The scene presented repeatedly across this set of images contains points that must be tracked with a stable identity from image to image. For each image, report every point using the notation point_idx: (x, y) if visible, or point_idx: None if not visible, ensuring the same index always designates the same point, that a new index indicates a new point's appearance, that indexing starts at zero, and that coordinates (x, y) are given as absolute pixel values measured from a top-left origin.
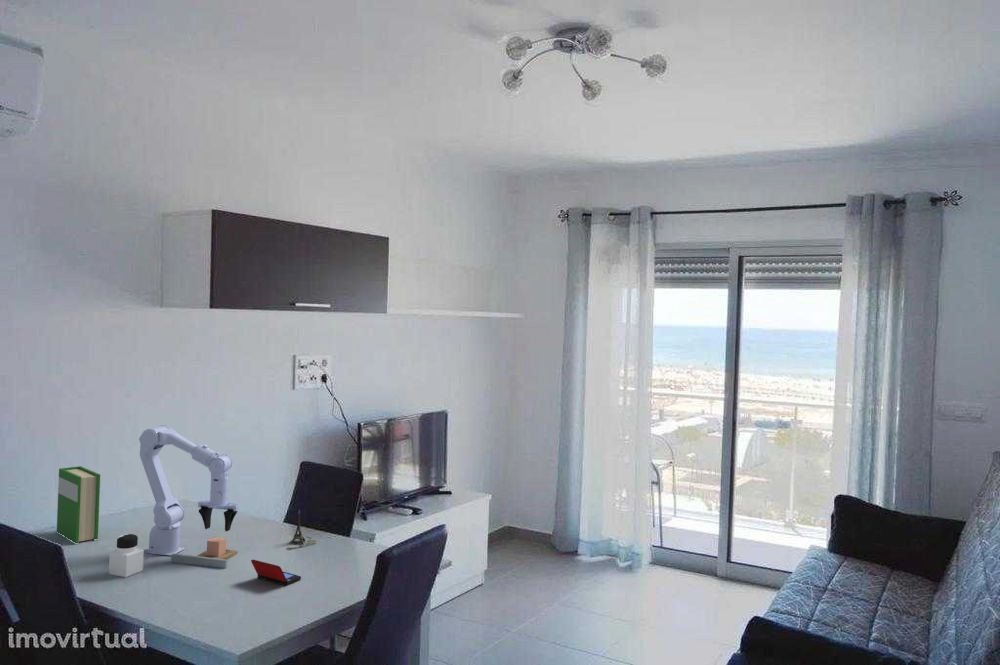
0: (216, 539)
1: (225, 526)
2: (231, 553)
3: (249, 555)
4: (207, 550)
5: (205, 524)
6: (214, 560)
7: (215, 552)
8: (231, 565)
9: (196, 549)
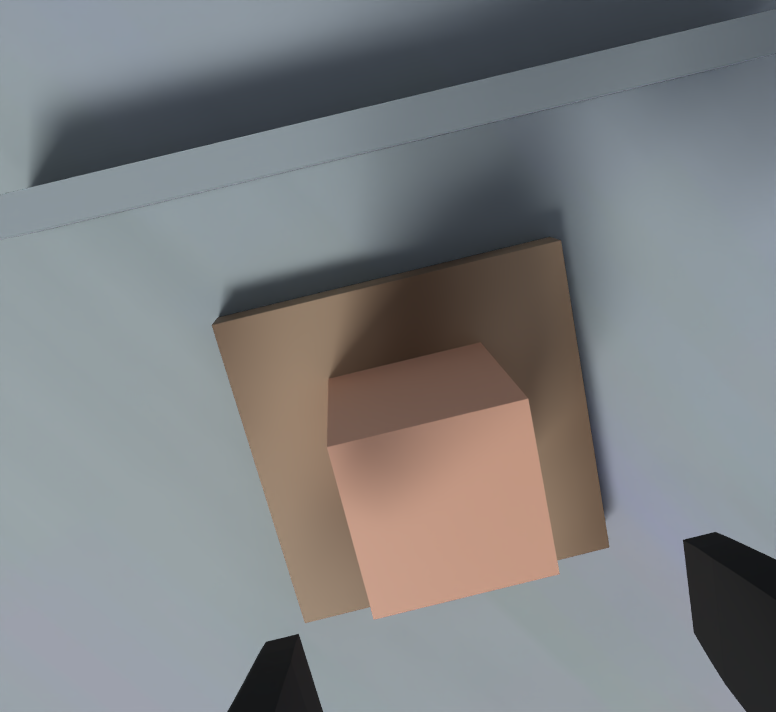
0: (458, 517)
1: (265, 694)
2: (290, 530)
3: (162, 629)
4: (483, 359)
5: (753, 571)
6: (154, 158)
7: (371, 383)
8: (54, 305)
9: (755, 476)
